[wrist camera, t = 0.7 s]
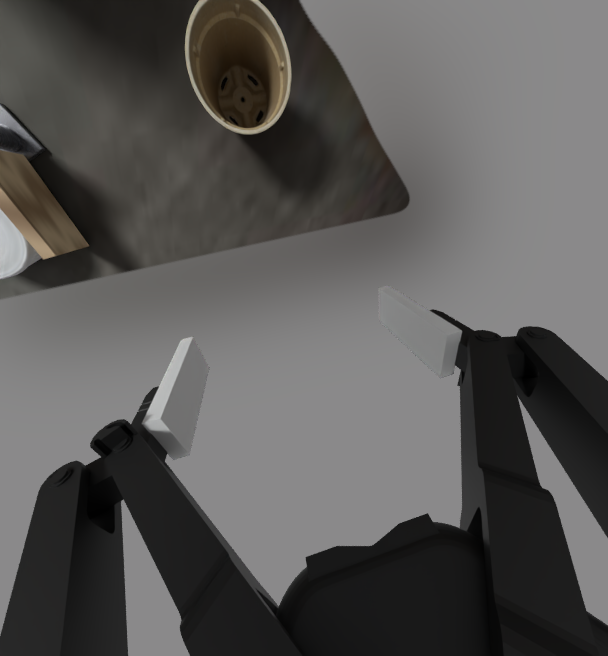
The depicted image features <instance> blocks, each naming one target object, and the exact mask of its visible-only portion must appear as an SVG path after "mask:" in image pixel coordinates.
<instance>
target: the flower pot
mask: <svg viewBox="0 0 608 656" xmlns="http://www.w3.org/2000/svg"><path fill="white" fill-rule="evenodd" d="M185 56H186V64H187V69H188V73H189V77H190V80H191V83H192V86H193V88H194V90H195V93H196V95H197V96H198V98H199V100H200V102H201V103H202V105H203V106H204V108H205V109H206V110H207V112H208V113H209V114H210V115H211V116H212V117H213V118H214V119H215V120H216V121H217V122H218V123H219V124H221V125H222V126H224V127H225V128H227V129H229V130H231V131H233V132H236V133H239V134H245V135H252V134H258V133H261V132H263V131H265V130H267V129H268V128H270V127H271V126H272V125H274V124H275V123H276V121H277V120H278V119H279V118H280V116H281V115H282V113H283V111H284V109H285V107H286V104H287V102H288V98H289V94H290V88H291V63H290V56H289V51H288V48H287V44H286V41H285V38H284V36H283V33H282V31H281V29H280V27H279V26H278V24H277V22H276V20H275V19H274V17H273V16H272V14H271V13H270V12H269V11H268V9H267V8H266V7H265V6H264V5H263V4H262V3H261V2H260V1H259V0H199V2H198V3H197V5H196V6H195V8H194V10H193V12H192V14H191V15H190V19H189V22H188V26H187V31H186V38H185ZM248 75H249V76H251V77H253V78H254V79H255V80H256V81H257V82H258V85H254V83H253V82H252V81H251V80H250V79H249V78H248ZM224 78H227V79H228V80H227V82H226V84H225V86H224V89H223V90H222V89H221V83H222V81H223V79H224ZM241 98H244V100H245V101H244V102H242V101H241ZM260 111H262V112H263V117H262V118H261V119H260V121H259V122H257V120H256V118H257V116H258V115H259V113H260ZM230 116H231V117H232V118H233V119H234V118H235V121H236V122H238V124H237V125H236V124H235V123H234V122H233V121H232V120H231V119H230Z"/></svg>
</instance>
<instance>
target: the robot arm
mask: <svg viewBox="0 0 608 656" xmlns="http://www.w3.org/2000/svg"><path fill="white" fill-rule="evenodd" d="M379 321H380V322H381V323H382V324H383V325H384V326H385V327H386V328H387V329H388V330H389V331H391V333H393V334H394V335H395V336H396V337H397V338H398V339H399V340H400V341H401V342H402V343H403V344H404V345H405V346H406V347H407V348H408V349H410V350H411V351H412V352H413V353H414V354H415V355H416V356H417V357H418V358H419V359H420V360H421V361H422V362H423V363H424V364H426V365H427V366H428V367H429V368H430V369H431V370H432V371H433V372H434V373H435V374H436V375H437V376H438V377H439V378H442V377H446V376H449V375H452V374H453V373H454V368H455V365H456V366H457V367H458V368H459V369H461V372H460V377H459V382H458V386H460V405H461V406H460V407H461V462H462V463H461V465H462V513H461V520H460V528H458V527H455V526H452V525H448V524H444V523H438V522H432V520H431V518H430V517H429V515H428V514H425V515H422V516H419V517H416V518H414V519H411V520H408V521H405V522H402V523H400V524H398V525H397V526H396V527H395V528H393V529H392V530H391V531H390V532H389V533H387V534H386V535H385V536H384V537H383V538H381V539H380V540H379V541H378V542H377V543H375V544H374V545H372V546H336V547H333V548H330V549H328V550H325V551H322V552H319V553H317V554H313V555H311V556H308V557H306V563H307V567H306V568H305V569H304V570H303V571H302V572H301V573H300V574H299V575H298V576H297V577H296V578H295V579H294V581H293V582H292V583H291V585H290V586H289V588H288V589H287V591H286V593H285V595H284V596H283V599H282V601H281V603H280V605H279V606H278V605H277V604H276V603H275V601H274V600H273V599H272V598H271V596H270V595H269V594H268V593H267V592H266V590H265V589H264V588H263V587H262V586H261V585H260V583H259V582H258V581H257V580H256V578H255V577H254V576H253V575H252V573H251V572H250V571H249V569H248V568H247V567H246V566H245V564H244V563H243V562H242V560H241V559H240V558H239V557H238V555H237V554H236V553H235V552H234V550H233V549H232V547H231V546H230V545H229V544H228V542H227V541H226V540H225V538H224V537H223V536H222V535H221V533H220V532H219V531H218V529H217V528H216V527H215V526H214V524H213V523H212V522H211V520H210V519H209V518H208V517H207V515H206V514H205V513H204V511H203V510H202V509H201V508H200V506H199V505H198V504H197V502H196V501H195V500H194V498H193V497H192V496H191V495H190V493H189V492H188V491H187V490H186V488H185V487H184V486H183V484H182V483H181V482H180V480H179V479H178V478H177V477H176V475H175V474H174V473H173V471H172V470H171V469H170V467H169V466H168V465H167V464H166V463H165V459H166V455H167V454H168V455H169V456H170V457H171V458H172V459H173V460H175V459H178V458H181V457H185V456H188V455H190V450H191V446H192V442H193V437H194V433H195V428H196V424H197V420H198V415H199V411H200V406H201V402H202V398H203V393H204V389H205V385H206V381H207V376H208V372H209V366H208V364H207V362H206V360H205V359H204V357H203V355H202V353H201V351H200V349H199V347H198V345H197V343H196V341H195V339H194V338H193V337H190V338H186V339H182V340H181V341H180V344H179V346H178V348H177V350H176V352H175V354H174V357H173V358H172V361H171V363H170V365H169V367H168V369H167V371H166V373H165V375H164V377H163V380H162V382H161V384H160V386H158V387H155V388H153V389H152V390H151V391H150V392H149V393H148V394H147V395H146V397H145V399H144V400H143V403H142V405H141V406H140V408H139V412H137V414H136V416H135V418H134V420H133V422H132V424H131V425H130V423H129V422H128V421H126V420H124V419H123V420H117V421H114V422H112V423H110V424H108V425H107V426H105V427H104V428H103V429H101V430H100V431H99V432H98V433H97V434H96V435H95V436H94V438H93V440H92V441H91V443H90V444H91V445H90V446H91V448H92V449H93V450H94V451H95V452H96V453H98V454H99V455H100V456H101V458H99V459H97V460H95V461H93V462H91V463H90V464H88V465H86V466H85V465H83V464H82V463H81V462H79V461H74V462H70V463H68V464H66V465H64V466H62V467H60V468H59V469H58V470H56V471H55V472H53V474H51V475H50V476H49V477H48V478H47V480H46V481H45V482H44V483H43V484H42V486H41V488H40V490H39V492H38V496H37V500H36V504H35V507H34V512H33V515H32V519H31V523H30V526H29V530H28V534H27V538H26V541H25V545H24V549H23V553H22V556H21V561H20V564H19V568H18V572H17V575H16V579H15V583H14V587H13V590H12V595H11V598H10V602H9V605H8V609H7V613H6V617H5V621H4V624H3V629H2V632H1V636H0V656H128V647H127V625H126V601H125V579H124V557H123V535H122V514H121V501H122V500H123V499H124V501H125V503H126V505H127V507H128V509H129V511H130V513H131V515H132V517H133V519H134V521H135V523H136V525H137V527H138V529H139V531H140V533H141V535H142V538H143V540H144V542H145V544H146V545H147V548H148V550H149V552H150V554H151V556H152V558H153V560H154V562H155V564H156V566H157V568H158V570H159V572H160V574H161V576H162V578H163V580H164V582H165V584H166V586H167V588H168V590H169V592H170V595H171V597H172V599H173V600H174V603H175V605H176V607H177V609H178V611H179V613H180V616H181V620H182V621H181V625H180V631H181V635H182V638H183V641H184V643H185V646H186V648H187V650H188V652H189V654H190V656H608V625H606V624H605V623H603V622H602V621H600V620H599V619H597V618H596V617H594V616H593V615H591V614H590V613H588V612H587V611H586V608H585V605H584V601H583V598H582V594H581V591H580V587H579V584H578V580H577V577H576V573H575V570H574V566H573V563H572V559H571V556H570V552H569V549H568V545H567V542H566V538H565V535H564V531H563V528H562V525H561V520H560V517H559V513H558V510H557V507H556V504H555V501H554V498H553V496H552V495H551V493H550V492H549V491H548V490H546V489H543V488H542V487H541V486H540V483H539V480H538V476H537V472H536V468H535V464H534V460H533V456H532V452H531V448H530V444H529V440H528V437H527V433H526V429H525V425H524V421H523V417H522V413H521V409H520V405H519V401H518V397H519V399H520V400H521V402H522V404H523V405H524V407H525V408H526V410H527V411H528V413H529V415H530V416H531V418H532V419H533V421H534V422H535V424H536V425H537V427H538V428H539V430H540V432H541V433H542V435H543V437H544V438H545V440H546V441H547V443H548V445H549V446H550V447H551V449H552V451H553V452H554V454H555V456H556V457H557V459H558V460H559V462H560V463H561V465H562V466H563V468H564V470H565V471H566V473H567V474H568V476H569V477H570V479H571V481H572V482H573V484H574V485H575V487H576V489H577V490H578V492H579V493H580V495H581V497H582V498H583V500H584V501H585V503H586V504H587V506H588V508H589V509H590V511H591V512H592V514H593V515H594V517H595V518H596V520H597V522H598V523H599V525H600V526H601V528H602V530H603V531H604V533H605V534H606V536H607V537H608V381H607V380H606V379H605V378H604V377H603V376H602V375H600V374H599V373H598V372H597V371H596V370H595V369H594V368H593V367H592V366H590V365H589V364H588V363H587V362H586V361H585V360H584V359H583V358H582V357H580V356H579V355H578V354H577V353H576V352H575V351H574V350H573V349H572V348H570V347H569V346H568V345H567V344H566V343H565V342H564V341H563V340H562V339H560V338H559V337H558V336H557V335H556V334H555V333H553V332H552V331H550V330H547V329H544V328H541V327H531V326H529V327H523V328H520V329H519V331H518V333H517V336H514V337H501V336H499V335H498V334H496V333H493V332H490V331H485V330H477V331H474V330H472V329H470V328H469V327H467V326H465V325H463V324H462V323H460V322H458V321H455V319H453V318H451V317H449V316H448V315H446V314H445V313H443V312H440V311H437V310H428V309H426V308H425V307H423V306H422V305H420V304H418V303H417V302H415V301H413V300H412V299H410V298H408V297H407V296H405V295H404V294H402V293H400V292H399V291H397V290H396V289H394V288H393V287H391V286H389V285H387V286H383V287H380V288H379ZM517 396H518V397H517Z"/></svg>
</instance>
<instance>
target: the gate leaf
mask: <svg viewBox="0 0 608 656" xmlns="http://www.w3.org/2000/svg"><path fill="white" fill-rule="evenodd" d="M0 209H1V210H2V211H3V213H4V214H5V215H6V216H7V217H8V218H9V220H10V221H11V222H12V223H13V224H14V225H15V227H16V228H17V229H18V230H19V231H20V233H21V234H22V235H23V236H24V237H25V238H26V240H27V241H28V242H29V243H30V244H31V245H32V247H33V248H34V249H35V250H36V251H37V253H38V254H39V255H40V256H41V257H42V258H43V260H44V259H47V258H51V257H54V256H58V255H61V254H65V253H68V252H71V251H75V250H78V249H82V248H85V247H88V246H89V245H88V243H87V242H86V240H85V239H84V238H83V236H82V235H81V233H80V232H79V231H78V229H77V228H76V227H75V225H74V224H73V222H72V221H71V220H70V218H69V217H68V215H67V214H66V213H65V211H64V210H63V209H62V207H61V206H60V204H59V203H58V202H57V200H56V199H55V197H54V196H53V195H52V193H51V192H50V191H49V189H48V188H47V186H46V185H45V184H44V182H43V181H42V180H41V178H40V177H39V175H38V174H37V173H36V171H35V170H34V168H33V167H32V166H31V164H30V163H29V162H28V160H27V159H26V157H25V156H24V155H22V154H17V153H12V152H7V151H2V150H0Z"/></svg>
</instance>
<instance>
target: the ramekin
mask: <svg viewBox="0 0 608 656" xmlns="http://www.w3.org/2000/svg"><path fill="white" fill-rule="evenodd" d="M39 259H41V256H40V255H39V254H38V253H37V251H36V250H35V249H34V248H33V247H32V245H31V244H30V243H29V242H28V241H27V240H26V238H25V237H24V236H23V235H22V234H21V233H20V231H19V230H18V229H17V228H16V227H15V225H14V224H13V223H12V222H11V221H10V220H9V218H8V217H7V216H6V215H5V214H4V213H3V211H2V210H1V209H0V279H5V278H9V277H12V276H15V275H17V274H19V273H21V272H23V271H24V270H25V269H26V268H27V267H28V266H30V265H31V264H33V263H35V262H36V261H38V260H39Z"/></svg>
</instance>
